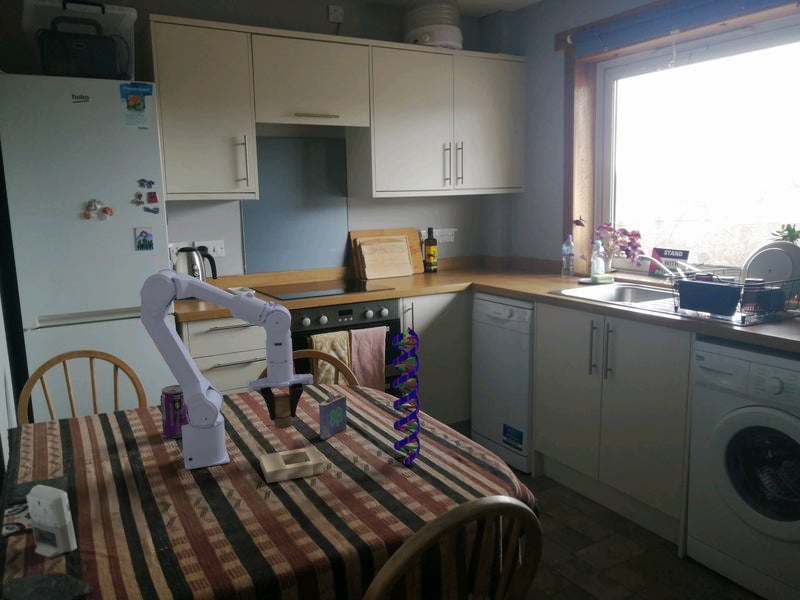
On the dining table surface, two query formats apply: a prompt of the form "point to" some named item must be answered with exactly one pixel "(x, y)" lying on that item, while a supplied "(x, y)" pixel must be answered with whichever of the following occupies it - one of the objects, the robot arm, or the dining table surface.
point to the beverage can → (173, 411)
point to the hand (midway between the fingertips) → (282, 417)
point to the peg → (282, 411)
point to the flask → (332, 416)
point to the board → (291, 464)
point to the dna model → (407, 394)
